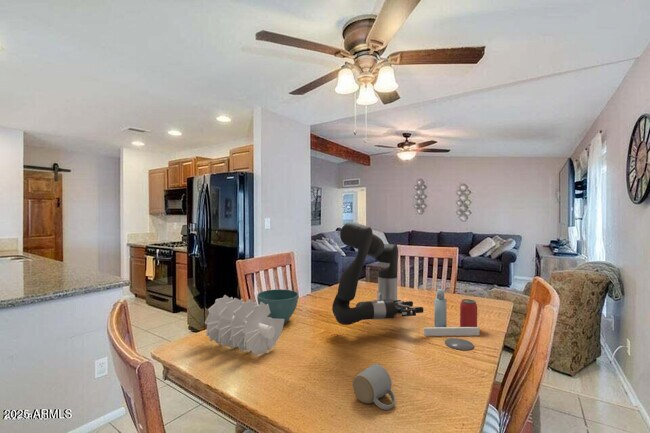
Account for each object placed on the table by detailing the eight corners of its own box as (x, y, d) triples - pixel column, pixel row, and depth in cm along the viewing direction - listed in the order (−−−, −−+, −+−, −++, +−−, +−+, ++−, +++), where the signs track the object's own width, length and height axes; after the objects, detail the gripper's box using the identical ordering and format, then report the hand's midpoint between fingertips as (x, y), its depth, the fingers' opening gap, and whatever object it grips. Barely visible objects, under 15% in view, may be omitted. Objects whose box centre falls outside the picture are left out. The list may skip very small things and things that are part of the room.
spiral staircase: (261, 372, 107) (209, 352, 120) (290, 334, 121) (241, 319, 133) (246, 331, 100) (192, 314, 112) (279, 295, 113) (227, 283, 126)
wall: (424, 335, 128) (424, 328, 128) (423, 334, 129) (423, 327, 129) (479, 335, 129) (479, 327, 129) (478, 334, 130) (478, 326, 130)
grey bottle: (436, 329, 136) (437, 291, 135) (432, 325, 140) (433, 288, 140) (448, 329, 136) (448, 291, 136) (443, 325, 141) (444, 288, 140)
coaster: (451, 350, 115) (451, 349, 115) (440, 339, 125) (440, 338, 125) (479, 350, 115) (479, 349, 115) (466, 339, 125) (466, 337, 125)
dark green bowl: (304, 317, 151) (304, 291, 151) (287, 331, 134) (287, 301, 133) (269, 313, 157) (269, 288, 156) (249, 325, 140) (249, 297, 139)
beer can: (479, 332, 132) (479, 303, 131) (461, 331, 133) (462, 302, 133) (474, 327, 138) (475, 299, 138) (458, 326, 139) (458, 298, 139)
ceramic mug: (350, 398, 86) (350, 369, 86) (369, 386, 92) (369, 359, 91) (383, 417, 78) (384, 385, 78) (402, 403, 84) (402, 373, 84)
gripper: (389, 305, 125) (426, 302, 128) (374, 295, 138) (409, 293, 142) (388, 324, 125) (426, 321, 129) (374, 313, 139) (409, 310, 142)
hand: (417, 306), depth 135 cm, fingers open, 8 cm apart
